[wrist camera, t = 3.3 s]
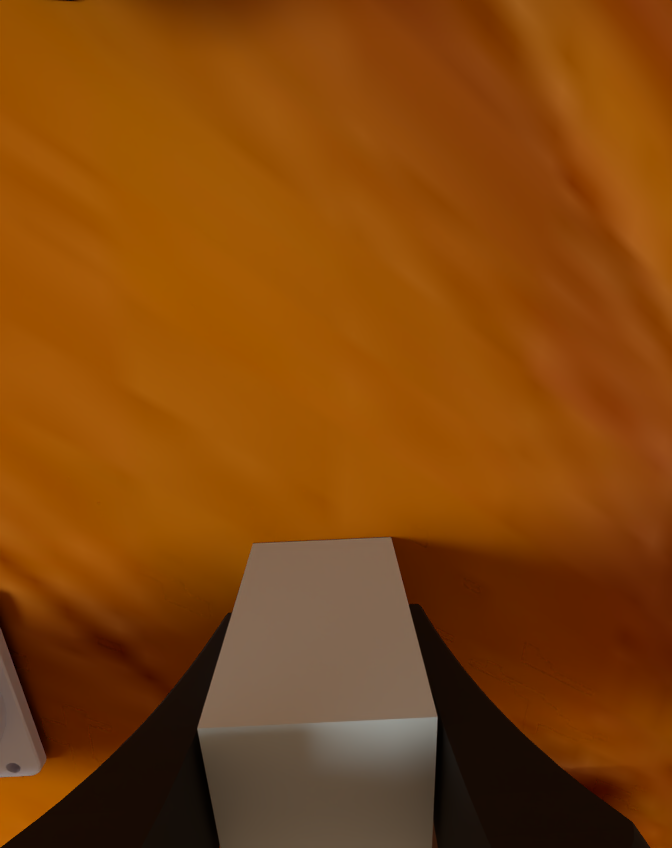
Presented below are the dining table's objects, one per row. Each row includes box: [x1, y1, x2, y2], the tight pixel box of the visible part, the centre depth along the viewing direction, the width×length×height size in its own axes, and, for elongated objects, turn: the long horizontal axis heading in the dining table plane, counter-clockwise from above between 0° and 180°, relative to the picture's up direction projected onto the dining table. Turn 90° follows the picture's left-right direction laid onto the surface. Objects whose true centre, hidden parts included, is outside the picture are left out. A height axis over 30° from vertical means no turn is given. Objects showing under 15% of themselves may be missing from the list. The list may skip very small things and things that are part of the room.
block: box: [197, 537, 438, 848], centre depth 11 cm, size 4×4×6 cm
